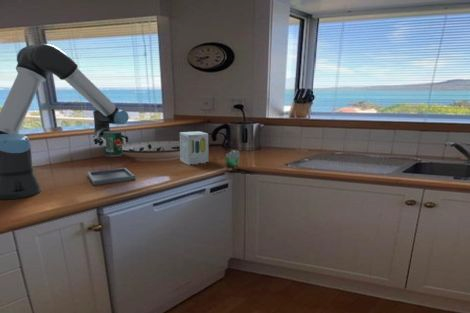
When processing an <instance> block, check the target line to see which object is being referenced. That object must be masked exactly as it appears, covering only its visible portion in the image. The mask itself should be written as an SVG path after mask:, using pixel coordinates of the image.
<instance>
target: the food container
mask: <svg viewBox="0 0 470 313" xmlns="http://www.w3.org/2000/svg"><path fill="white" fill-rule="evenodd" d="M240 156H241V153H240V151H239V150H237V149H230V151H228V153H227V152H226V153H225V159H226V160H225V162H226V163H225V164H226V168H225V170H226V172H236V171H238V169H239V167H238V166H239V157H240Z"/></svg>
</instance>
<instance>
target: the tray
mask: <svg viewBox="0 0 470 313" xmlns="http://www.w3.org/2000/svg"><path fill="white" fill-rule="evenodd" d="M86 174H87V177H88V179H89V180H90V182H91V183H92V185H93V186H99V185H107V184H115V183H121V182H128V181H129V182H130V181H136V175H135V174H133V173H132V172H131V171H130V170H128V168H126V167H118V168H113V169H111V168H109V169H104V170H103V169H101V170H93V171H87V173H86Z"/></svg>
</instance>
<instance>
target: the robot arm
mask: <svg viewBox="0 0 470 313" xmlns="http://www.w3.org/2000/svg"><path fill="white" fill-rule="evenodd" d="M16 62H17V64H16V67H15V70H16V72H17V75H16V77H15V78H14V82H13V84H12V86H11V87H10V89H9V92H8V94H7V97H6V100H5V101H4V103H3V105H2V107H1V110H0V200H16V199H22V198H29V197H32V196H34V195H36V194H39V193H40V192H41V185H40V184H41V183H40V182H38V179H37V178H36V175H35V173H34V166H33V156H32V150H31V149H32V148H31V146H32V145H31V142H30V139H29V137H28V136H26V135H24V134H20V133H19V131H20V129H21V127H22V125H23V123H24V120H25V118H26V116H27V113H28V111H29V110H30V107H31V105H32V102H33V100H34V98H35V95H36V93H37V91H38V88H39V86H40V85H41V83H43V82H46V81H47V78H48V76H49V73H50V74H53V75H54V76H56V77H57V78H59V79H60V80H61V81H65V82H66V83H68V85H69V86H71V87H72V88H73V89H74V90H75V91H77V92H78V93H79V94H80V96H82V97H83V98H84V99H85V100H86V101H87V102H89V104H91V105H92V106H93V107H92V108H93V111H92V114H93V122H94V123H93V124H94V131H93V142H94V145H98V146H103V147H104V146H106V140H105V139H104V133H103V132H105V131H111V130H110V128H111V127H110V124H111V125H116V126H118V125H121V126H122V125H125V124H126V123H128V121H129V113H128V112H127V111H126V110H124V109H120V108H119V107H117V105H115V103H114V102H113V101H111V100H110V98H108V97H107V96H106V95H105V94H104V93H103V92H102V90H100V89H99V88H98V87H97V86H96V85H95V84H94V83H93V82H92V81H91V80H90V79H89V78H88V77H87V76H86V75H85V74H84V73H83V72H82V71H81V70H80V69H79V67H78V64H77V63H76V62H75V61H74V60H73V59H72V58H71V57H70V56H69V55H68V54H66V53H65V52H64V51H63V50H61V49H60V48H58V47H57V46H55V45H53V44H50V43H49V44H48V43H41V44H35V45H33V44H31V45H27V46H25V47H22V48H21V49H19V51H18V52H17V54H16ZM121 135H122V145H124V146H126V145H127V144H126V143H129V136H128V135H127V136H126V135H123V134H121Z"/></svg>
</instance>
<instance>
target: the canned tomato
mask: <svg viewBox="0 0 470 313" xmlns="http://www.w3.org/2000/svg"><path fill="white" fill-rule="evenodd" d="M103 133H104V139H105V140H106V146H104V145H103V147H104V156H106V157H120V156H122V155H124V152H123V144H122V135H123V134H122V131H121V130H110V131H105V132H103Z"/></svg>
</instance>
